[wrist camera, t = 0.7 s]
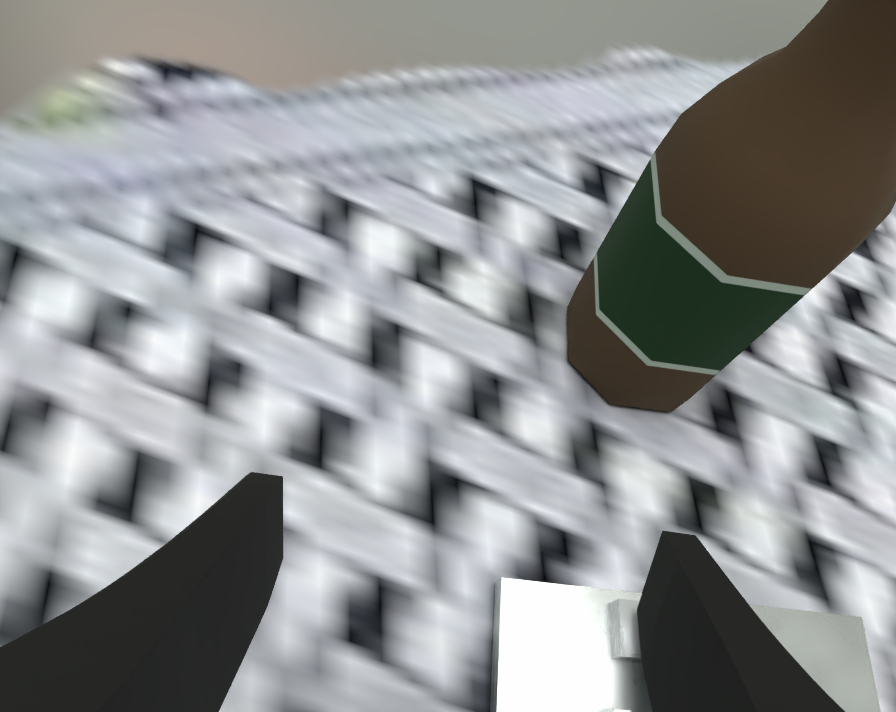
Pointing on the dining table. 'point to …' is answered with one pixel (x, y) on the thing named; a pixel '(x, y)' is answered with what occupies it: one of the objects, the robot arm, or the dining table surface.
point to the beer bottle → (743, 210)
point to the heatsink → (619, 656)
